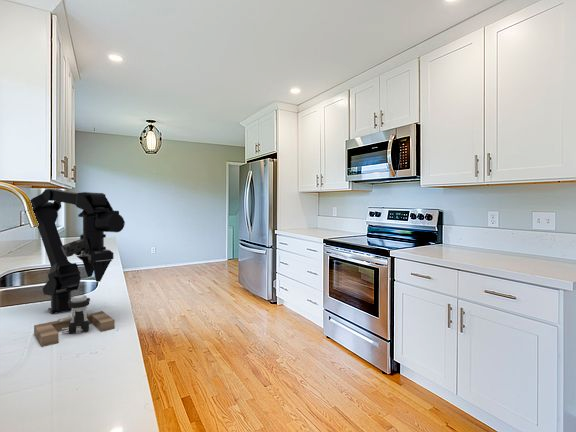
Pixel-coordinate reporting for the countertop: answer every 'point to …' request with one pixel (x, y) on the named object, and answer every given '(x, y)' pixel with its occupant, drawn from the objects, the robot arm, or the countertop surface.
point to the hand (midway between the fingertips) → (93, 279)
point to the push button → (78, 315)
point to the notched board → (49, 331)
